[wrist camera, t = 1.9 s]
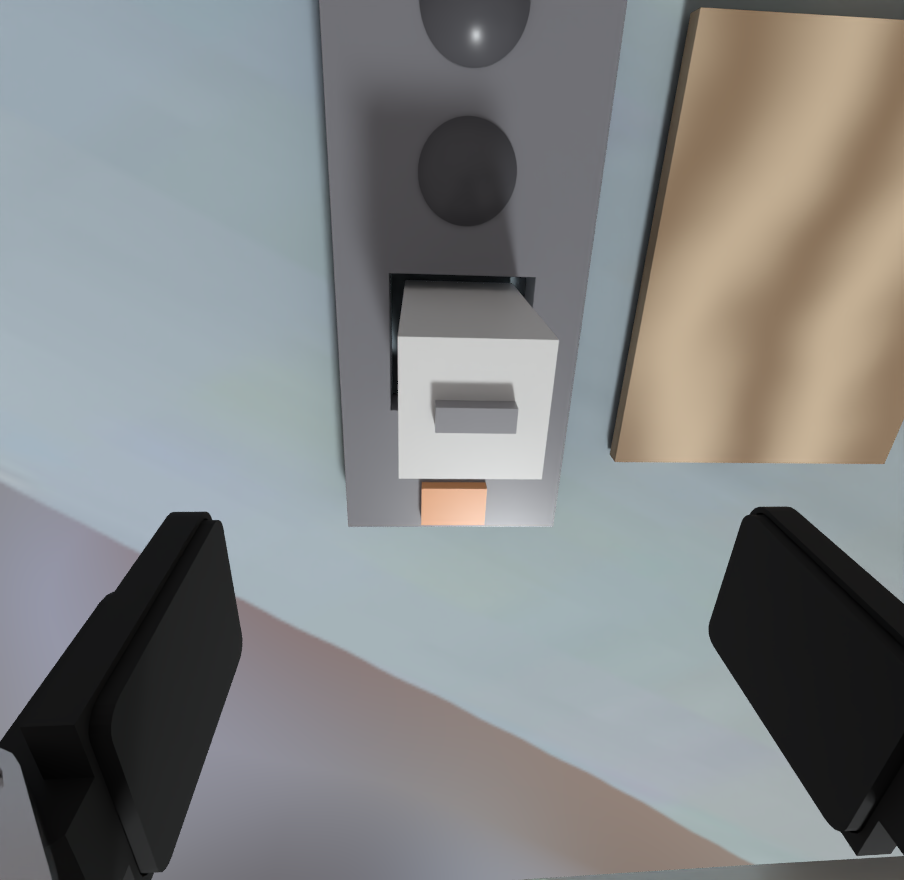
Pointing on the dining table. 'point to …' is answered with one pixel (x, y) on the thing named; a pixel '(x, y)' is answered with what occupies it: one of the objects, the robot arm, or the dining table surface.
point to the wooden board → (774, 249)
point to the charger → (472, 382)
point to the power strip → (460, 206)
